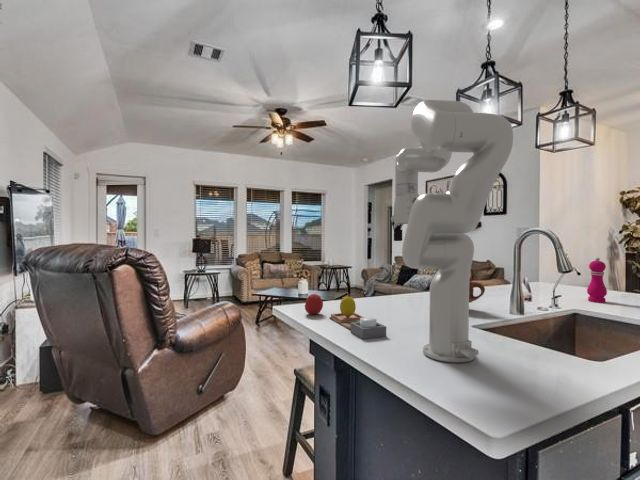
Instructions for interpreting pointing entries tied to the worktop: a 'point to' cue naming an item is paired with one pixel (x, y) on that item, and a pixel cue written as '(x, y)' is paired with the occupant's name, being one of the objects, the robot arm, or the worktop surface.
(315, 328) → the worktop surface
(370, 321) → the dome
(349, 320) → the board
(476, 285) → the brown mug
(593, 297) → the pepper mill
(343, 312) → the lemon
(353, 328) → the housing
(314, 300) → the tomato
